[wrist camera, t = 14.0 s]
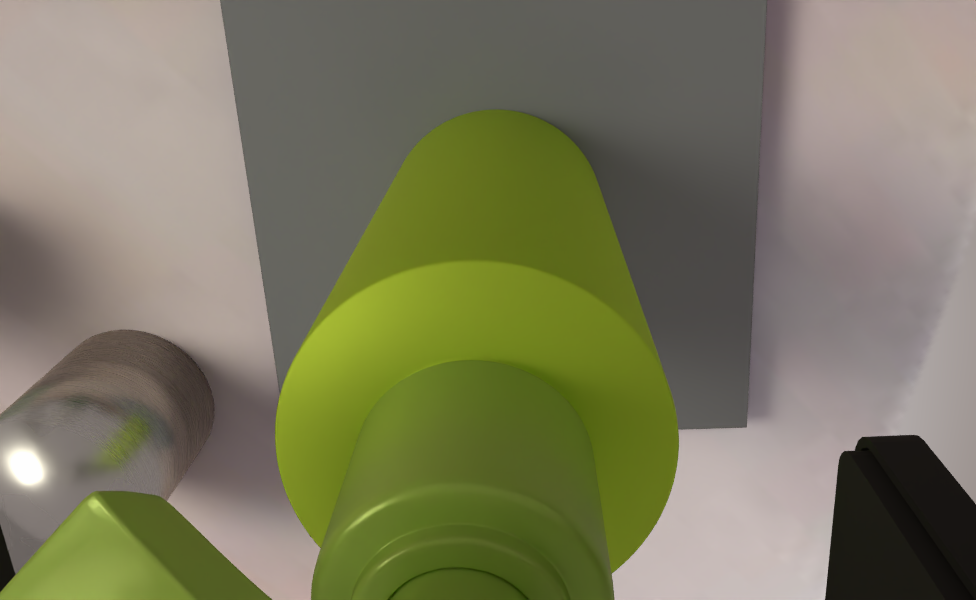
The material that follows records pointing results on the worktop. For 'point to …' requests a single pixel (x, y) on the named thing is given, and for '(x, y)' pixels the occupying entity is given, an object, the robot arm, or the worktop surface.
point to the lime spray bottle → (441, 403)
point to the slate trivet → (540, 93)
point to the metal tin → (99, 432)
